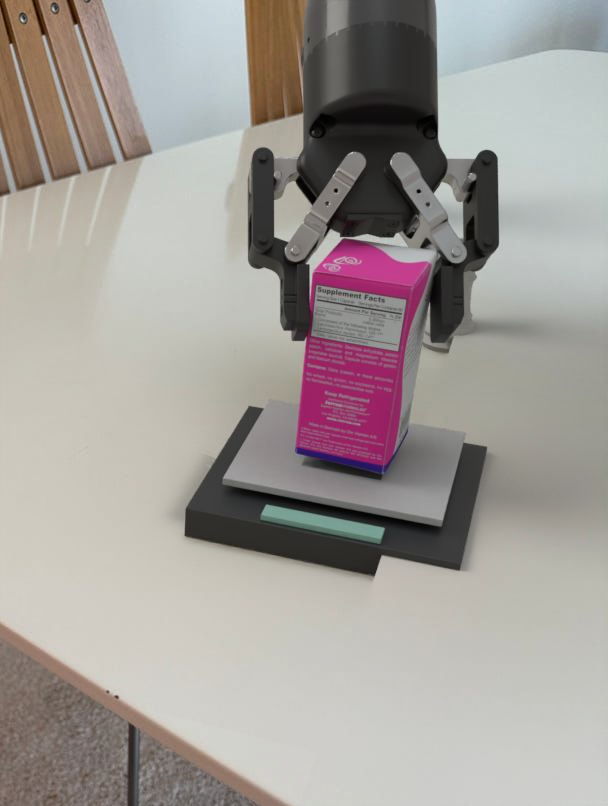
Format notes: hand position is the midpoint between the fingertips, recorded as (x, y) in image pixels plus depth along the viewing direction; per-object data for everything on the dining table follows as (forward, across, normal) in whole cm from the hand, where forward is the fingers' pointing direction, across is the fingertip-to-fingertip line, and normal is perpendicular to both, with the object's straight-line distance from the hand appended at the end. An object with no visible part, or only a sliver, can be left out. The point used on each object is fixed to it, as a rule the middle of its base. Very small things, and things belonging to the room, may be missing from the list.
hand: (371, 337), depth 58 cm
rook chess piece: (-9, +12, +26) cm, 30 cm away
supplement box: (+5, 0, +6) cm, 8 cm away
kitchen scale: (+8, 0, +8) cm, 11 cm away
